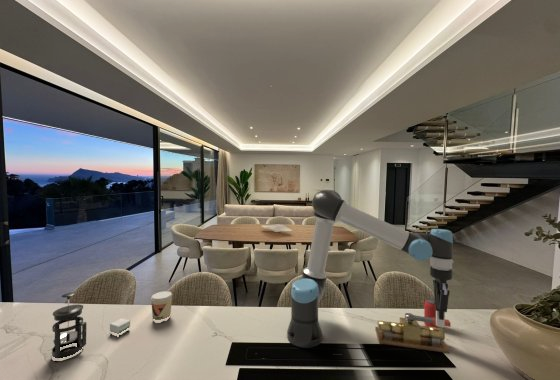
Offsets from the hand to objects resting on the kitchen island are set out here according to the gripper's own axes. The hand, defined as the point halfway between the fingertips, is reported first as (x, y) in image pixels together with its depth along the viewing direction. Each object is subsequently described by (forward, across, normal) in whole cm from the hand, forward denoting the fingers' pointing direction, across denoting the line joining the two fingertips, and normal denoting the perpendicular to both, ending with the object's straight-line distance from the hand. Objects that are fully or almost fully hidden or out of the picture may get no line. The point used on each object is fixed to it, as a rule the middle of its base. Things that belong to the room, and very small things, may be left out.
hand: (440, 326), depth 98 cm
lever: (0, +2, +4) cm, 5 cm away
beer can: (+9, +18, -2) cm, 21 cm away
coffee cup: (+11, -20, +123) cm, 125 cm away
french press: (+12, -51, +137) cm, 147 cm away
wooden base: (+9, +2, +11) cm, 14 cm away
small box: (+12, -34, +132) cm, 136 cm away
